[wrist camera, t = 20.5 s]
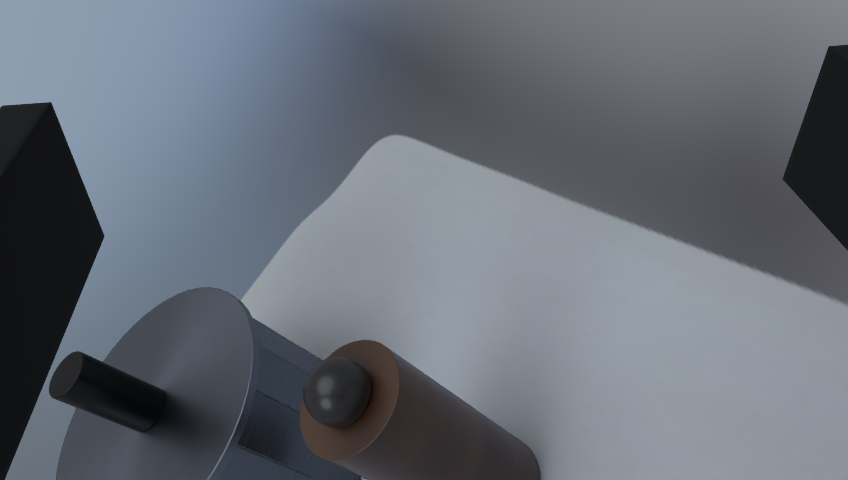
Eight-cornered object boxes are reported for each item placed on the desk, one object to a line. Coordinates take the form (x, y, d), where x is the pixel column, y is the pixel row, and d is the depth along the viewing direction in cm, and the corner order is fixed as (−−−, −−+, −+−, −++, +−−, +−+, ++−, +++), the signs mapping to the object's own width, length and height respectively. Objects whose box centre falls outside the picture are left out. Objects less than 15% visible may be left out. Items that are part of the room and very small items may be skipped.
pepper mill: (506, 416, 37) (339, 295, 27) (559, 488, 33) (388, 377, 24) (440, 478, 37) (252, 379, 28) (485, 556, 33) (287, 473, 24)
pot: (320, 324, 48) (219, 256, 42) (401, 475, 38) (283, 416, 32) (183, 457, 49) (62, 410, 43) (226, 638, 39) (77, 613, 33)
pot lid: (230, 251, 43) (149, 196, 39) (303, 421, 32) (202, 369, 28) (65, 414, 44) (-31, 377, 39) (82, 632, 33) (-48, 612, 29)
